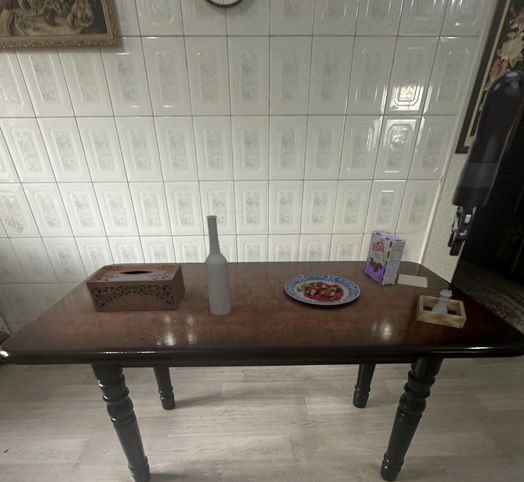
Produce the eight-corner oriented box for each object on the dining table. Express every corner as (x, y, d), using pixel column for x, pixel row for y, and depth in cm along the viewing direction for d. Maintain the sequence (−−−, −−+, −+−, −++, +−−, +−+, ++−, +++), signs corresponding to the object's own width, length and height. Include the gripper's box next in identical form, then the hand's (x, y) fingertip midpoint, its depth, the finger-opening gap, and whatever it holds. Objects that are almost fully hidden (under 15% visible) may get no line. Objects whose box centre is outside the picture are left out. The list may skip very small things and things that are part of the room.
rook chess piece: (444, 320, 89) (454, 295, 84) (428, 316, 91) (436, 291, 87) (447, 314, 92) (457, 290, 87) (431, 310, 94) (440, 286, 89)
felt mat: (426, 278, 116) (427, 277, 115) (426, 288, 108) (427, 287, 108) (399, 274, 119) (399, 273, 119) (397, 284, 112) (397, 283, 111)
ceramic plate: (370, 289, 107) (371, 281, 106) (339, 318, 91) (340, 309, 89) (307, 274, 120) (308, 267, 119) (270, 297, 103) (270, 288, 102)
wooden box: (458, 310, 94) (462, 301, 92) (462, 328, 85) (466, 318, 83) (417, 303, 98) (419, 294, 96) (416, 320, 89) (419, 310, 87)
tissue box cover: (96, 311, 96) (85, 282, 90) (113, 293, 107) (104, 265, 102) (177, 309, 96) (172, 280, 91) (185, 291, 108) (180, 263, 103)
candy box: (363, 272, 121) (371, 230, 112) (377, 271, 122) (386, 229, 113) (380, 286, 110) (391, 240, 101) (395, 284, 111) (407, 239, 102)
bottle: (230, 305, 99) (223, 213, 83) (232, 314, 93) (224, 218, 77) (210, 306, 98) (199, 214, 82) (210, 316, 92) (198, 219, 76)
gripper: (498, 187, 66) (471, 260, 75) (488, 180, 77) (465, 245, 86) (459, 186, 69) (437, 257, 78) (455, 180, 79) (436, 243, 89)
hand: (452, 251), depth 82 cm, fingers open, 8 cm apart
